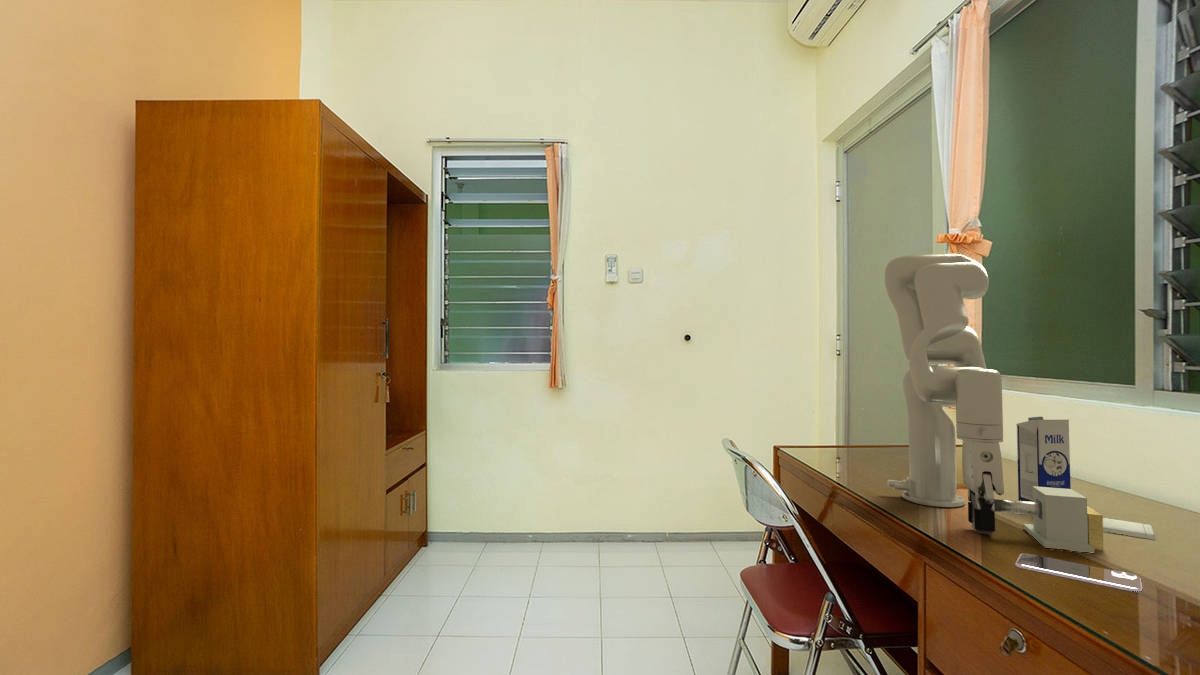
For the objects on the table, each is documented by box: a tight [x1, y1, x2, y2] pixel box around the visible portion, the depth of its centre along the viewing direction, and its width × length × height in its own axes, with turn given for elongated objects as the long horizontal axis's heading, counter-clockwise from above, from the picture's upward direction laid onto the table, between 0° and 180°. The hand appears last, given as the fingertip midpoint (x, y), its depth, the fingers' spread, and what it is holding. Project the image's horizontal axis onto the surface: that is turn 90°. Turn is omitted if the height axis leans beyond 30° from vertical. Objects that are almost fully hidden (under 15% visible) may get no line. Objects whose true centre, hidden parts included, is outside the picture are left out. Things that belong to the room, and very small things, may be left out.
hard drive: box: [1103, 517, 1156, 541], centre depth 110 cm, size 2×8×12 cm
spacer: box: [1087, 505, 1104, 551], centre depth 101 cm, size 2×6×6 cm, turn 157°
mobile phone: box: [1014, 552, 1143, 593], centre depth 88 cm, size 8×1×15 cm
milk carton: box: [1016, 416, 1072, 502], centre depth 127 cm, size 7×7×20 cm
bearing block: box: [1022, 486, 1095, 553], centre depth 103 cm, size 7×12×9 cm, turn 157°
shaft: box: [971, 492, 1042, 536], centre depth 105 cm, size 16×4×7 cm, turn 67°
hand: (981, 525), depth 107 cm, fingers closed on shaft, 4 cm apart
